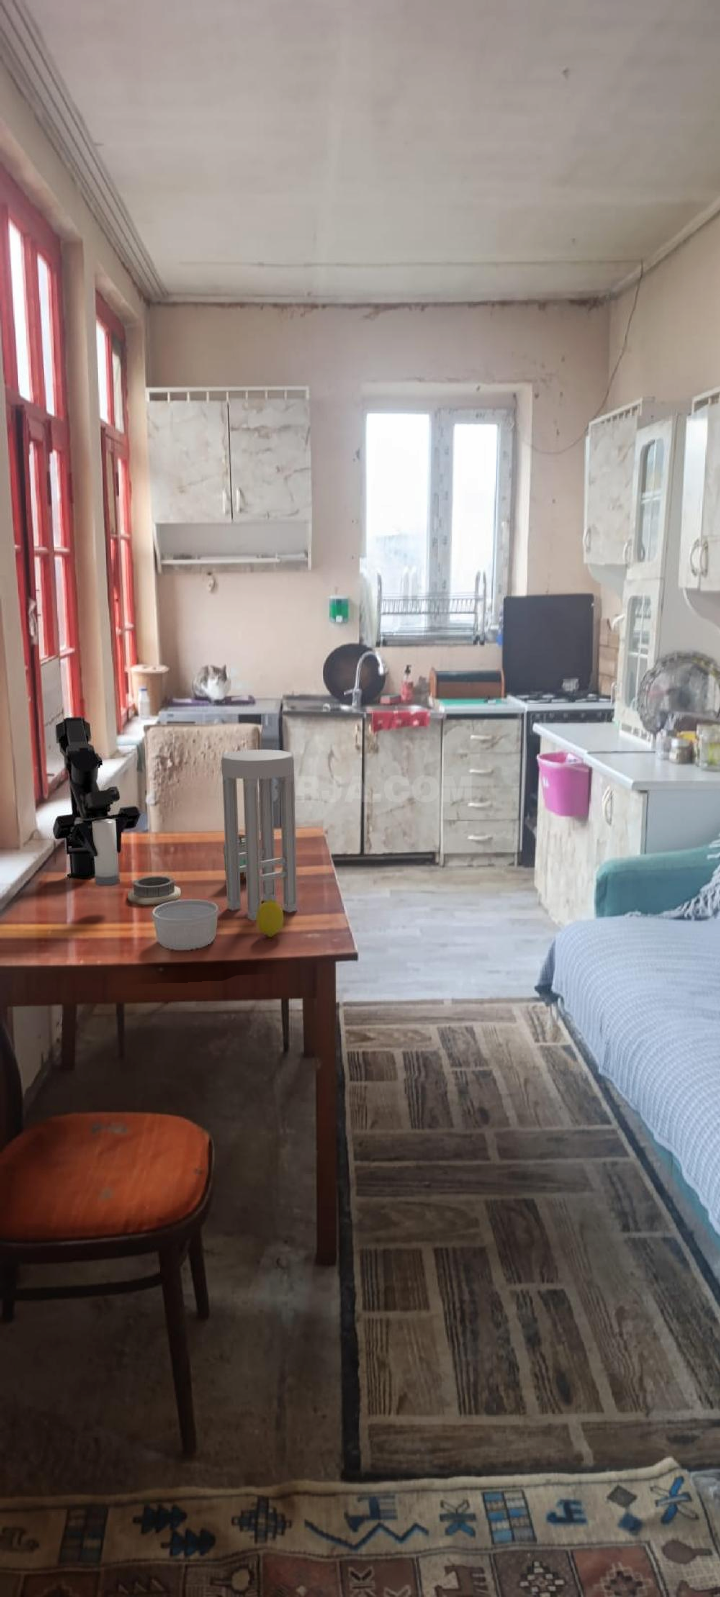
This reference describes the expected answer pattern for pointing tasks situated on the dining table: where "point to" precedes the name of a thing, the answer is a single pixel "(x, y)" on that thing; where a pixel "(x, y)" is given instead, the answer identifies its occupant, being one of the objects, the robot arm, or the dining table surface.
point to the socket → (154, 890)
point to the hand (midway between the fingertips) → (107, 853)
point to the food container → (241, 861)
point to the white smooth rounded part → (105, 852)
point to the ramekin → (185, 924)
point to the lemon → (269, 918)
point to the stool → (265, 769)
